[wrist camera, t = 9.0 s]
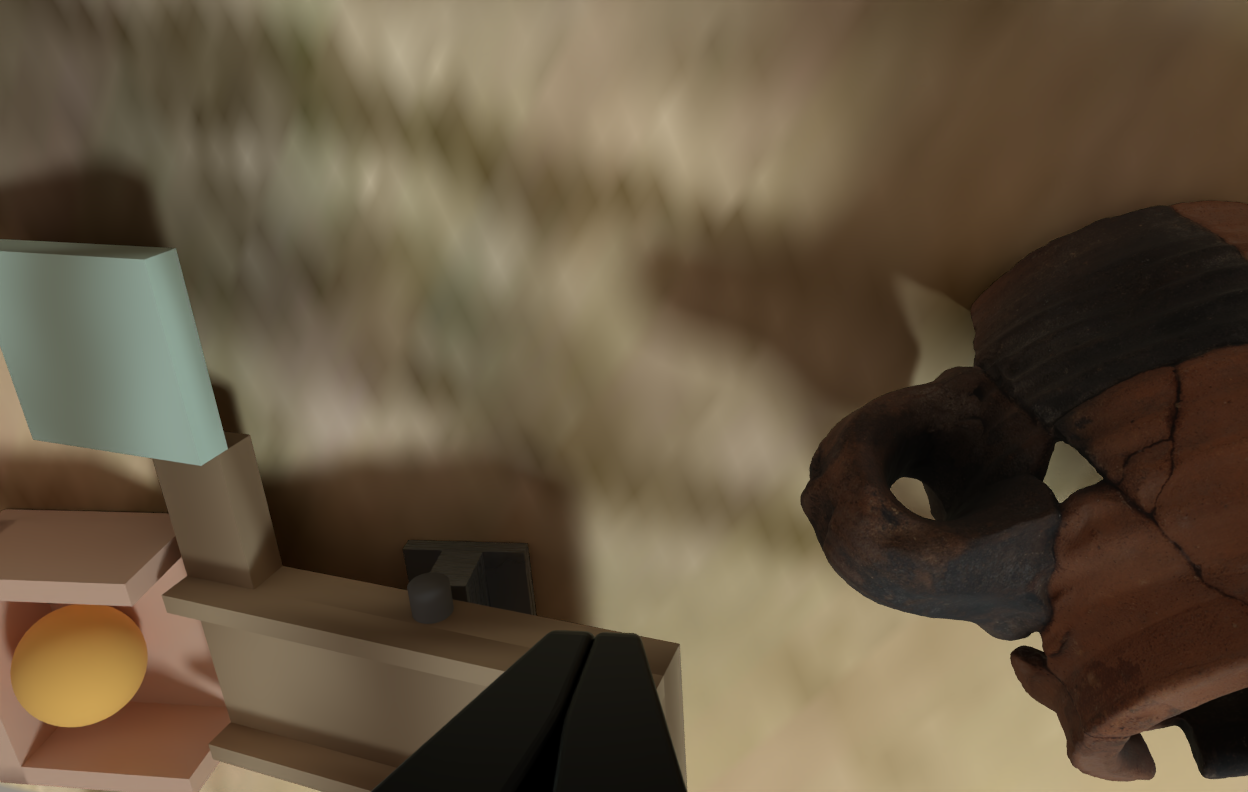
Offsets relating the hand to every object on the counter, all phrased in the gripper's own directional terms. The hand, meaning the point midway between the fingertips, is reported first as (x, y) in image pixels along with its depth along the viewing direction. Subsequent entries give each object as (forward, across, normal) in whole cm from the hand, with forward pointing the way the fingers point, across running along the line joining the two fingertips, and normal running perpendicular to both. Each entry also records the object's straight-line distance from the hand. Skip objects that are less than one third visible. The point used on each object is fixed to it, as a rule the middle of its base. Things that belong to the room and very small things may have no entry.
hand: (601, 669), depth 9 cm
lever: (+10, +8, +5) cm, 14 cm away
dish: (+12, +16, +9) cm, 22 cm away
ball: (+10, +16, +9) cm, 21 cm away
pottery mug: (+12, -8, +4) cm, 15 cm away
